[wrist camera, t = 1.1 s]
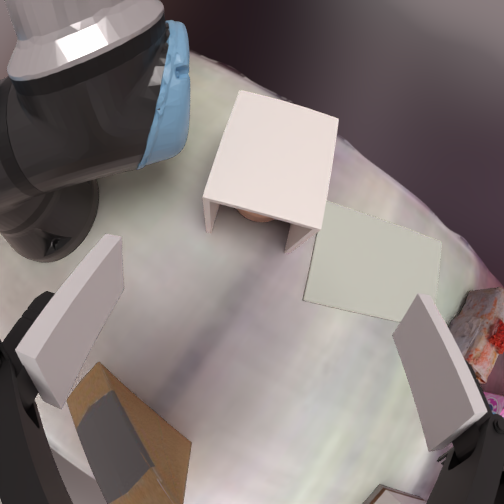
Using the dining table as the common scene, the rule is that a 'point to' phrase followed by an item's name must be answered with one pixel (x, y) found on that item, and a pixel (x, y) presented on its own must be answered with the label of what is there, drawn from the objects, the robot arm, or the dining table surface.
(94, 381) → the sandwich container
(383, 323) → the dining table surface
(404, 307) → the mat
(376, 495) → the tall open-top box
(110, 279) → the robot arm
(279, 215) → the cover
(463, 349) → the food item
